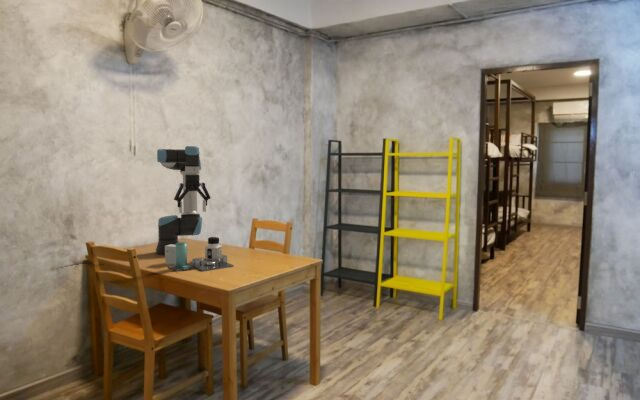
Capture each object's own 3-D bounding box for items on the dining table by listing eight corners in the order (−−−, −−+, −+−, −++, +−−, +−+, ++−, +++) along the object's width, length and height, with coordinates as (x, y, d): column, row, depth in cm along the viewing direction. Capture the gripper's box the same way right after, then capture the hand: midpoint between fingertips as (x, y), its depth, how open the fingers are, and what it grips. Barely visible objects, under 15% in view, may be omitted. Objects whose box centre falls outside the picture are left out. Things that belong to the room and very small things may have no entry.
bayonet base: (186, 264, 257) (186, 256, 257) (217, 260, 270) (217, 252, 270) (201, 271, 243) (201, 262, 243) (233, 266, 256) (233, 258, 255)
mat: (167, 267, 250) (167, 266, 250) (186, 264, 258) (186, 263, 258) (176, 271, 242) (176, 270, 242) (195, 268, 249) (195, 267, 249)
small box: (182, 263, 262) (182, 245, 261) (176, 265, 256) (176, 246, 255) (171, 261, 264) (170, 244, 263) (164, 263, 259) (164, 245, 258)
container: (217, 260, 270) (216, 238, 269) (204, 259, 271) (204, 238, 270) (222, 257, 277) (222, 236, 276) (210, 256, 279) (210, 235, 278)
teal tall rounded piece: (180, 270, 243) (180, 245, 242) (171, 265, 253) (171, 241, 251) (191, 268, 247) (191, 243, 246) (182, 264, 256) (182, 240, 255)
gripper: (172, 175, 240) (173, 214, 242) (216, 174, 255) (216, 211, 258) (167, 174, 246) (168, 213, 248) (210, 173, 261) (210, 210, 263)
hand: (192, 212), depth 253 cm, fingers open, 13 cm apart
